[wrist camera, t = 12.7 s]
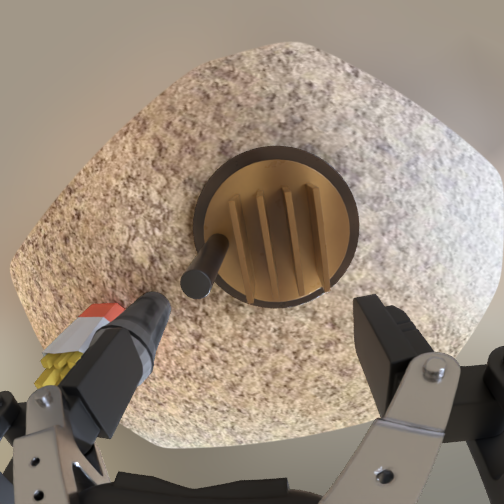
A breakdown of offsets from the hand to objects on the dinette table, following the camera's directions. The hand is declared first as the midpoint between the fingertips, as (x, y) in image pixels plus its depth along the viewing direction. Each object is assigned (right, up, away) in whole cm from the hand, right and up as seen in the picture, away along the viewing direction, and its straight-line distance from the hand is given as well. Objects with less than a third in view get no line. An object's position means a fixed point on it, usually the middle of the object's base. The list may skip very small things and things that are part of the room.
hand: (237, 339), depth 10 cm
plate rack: (+3, +5, +24) cm, 25 cm away
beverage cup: (-12, -4, +30) cm, 33 cm away
